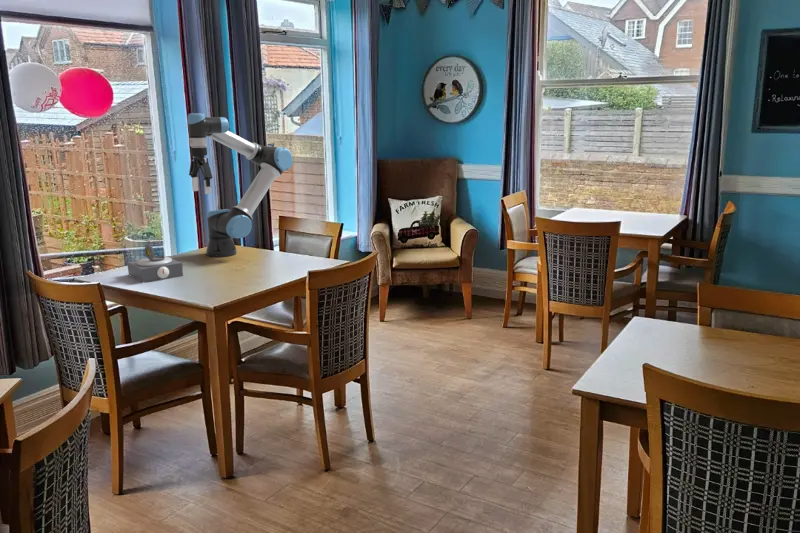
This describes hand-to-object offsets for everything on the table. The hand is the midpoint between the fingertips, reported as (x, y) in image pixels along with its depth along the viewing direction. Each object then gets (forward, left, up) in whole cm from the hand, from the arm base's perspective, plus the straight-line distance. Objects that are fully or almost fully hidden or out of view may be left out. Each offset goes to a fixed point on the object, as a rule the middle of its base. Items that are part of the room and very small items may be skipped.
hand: (201, 192), depth 321 cm
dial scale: (+7, -28, -35) cm, 45 cm away
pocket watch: (+7, -28, -28) cm, 40 cm away
